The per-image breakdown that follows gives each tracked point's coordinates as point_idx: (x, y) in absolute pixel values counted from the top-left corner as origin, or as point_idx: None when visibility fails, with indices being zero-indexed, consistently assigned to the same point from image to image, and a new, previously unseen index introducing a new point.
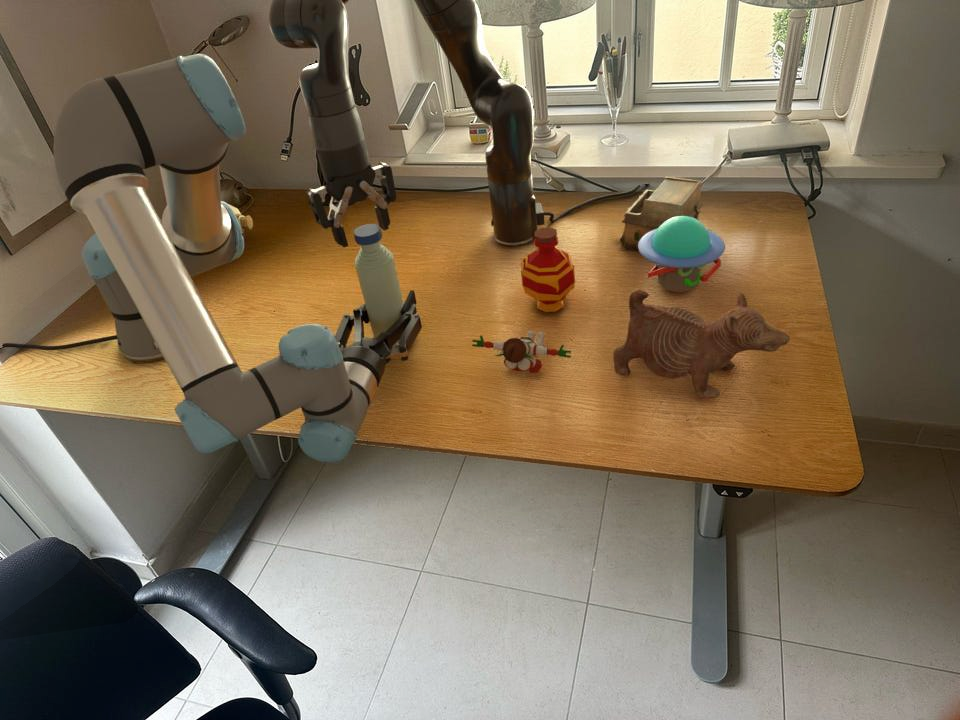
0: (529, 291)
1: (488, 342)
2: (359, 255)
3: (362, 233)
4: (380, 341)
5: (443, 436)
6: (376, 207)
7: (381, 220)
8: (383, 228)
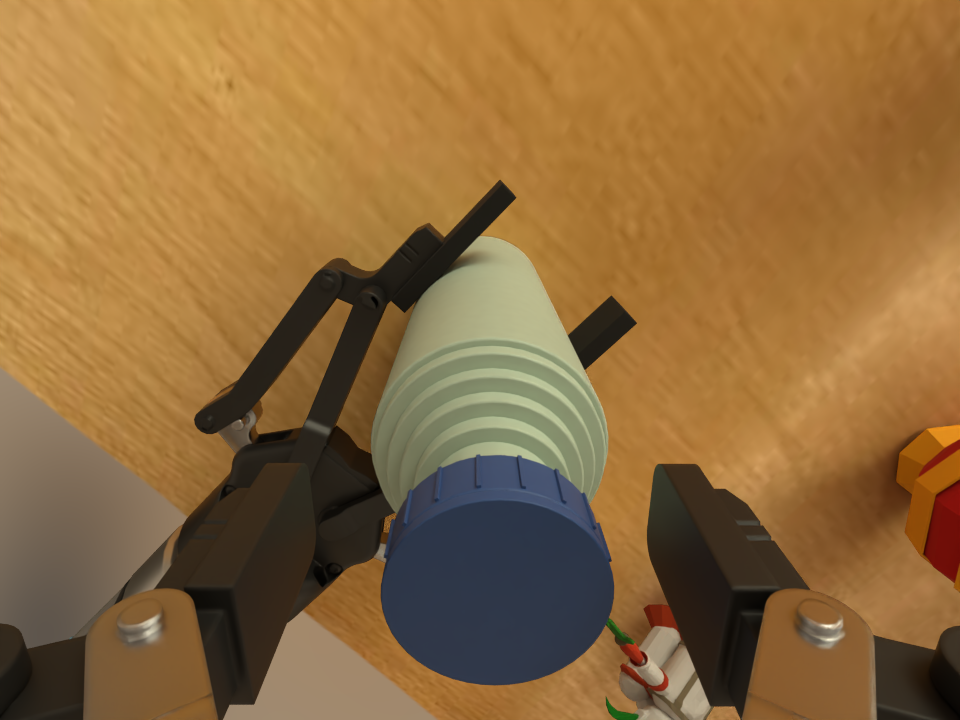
0: (921, 515)
1: (632, 654)
2: (400, 480)
3: (440, 622)
4: (363, 524)
5: (396, 662)
6: (733, 619)
7: (675, 579)
8: (651, 534)
